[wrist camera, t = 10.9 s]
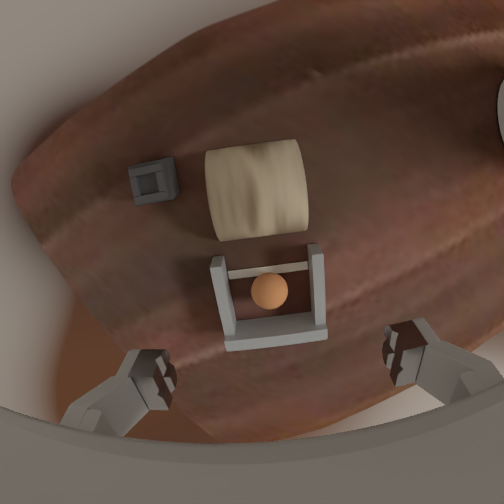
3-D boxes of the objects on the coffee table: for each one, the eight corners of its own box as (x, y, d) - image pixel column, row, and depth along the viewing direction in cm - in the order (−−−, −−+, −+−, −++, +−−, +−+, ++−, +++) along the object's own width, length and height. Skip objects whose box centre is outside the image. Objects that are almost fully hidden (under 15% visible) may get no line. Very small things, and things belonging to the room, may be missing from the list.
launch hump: (288, 137, 34) (301, 138, 25) (297, 216, 38) (311, 244, 29) (213, 147, 35) (199, 152, 26) (226, 226, 39) (218, 256, 29)
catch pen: (317, 243, 33) (325, 257, 29) (321, 319, 37) (327, 339, 33) (213, 256, 34) (208, 272, 30) (229, 331, 37) (226, 351, 34)
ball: (286, 275, 35) (284, 265, 32) (290, 309, 34) (289, 302, 30) (252, 280, 36) (246, 270, 32) (255, 313, 34) (250, 307, 31)
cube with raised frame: (173, 156, 30) (163, 159, 26) (180, 193, 31) (171, 200, 27) (138, 163, 30) (124, 168, 26) (145, 199, 31) (133, 208, 28)
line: (307, 261, 34) (307, 261, 34) (307, 269, 34) (308, 269, 34) (227, 271, 34) (227, 271, 34) (229, 279, 35) (229, 279, 35)
